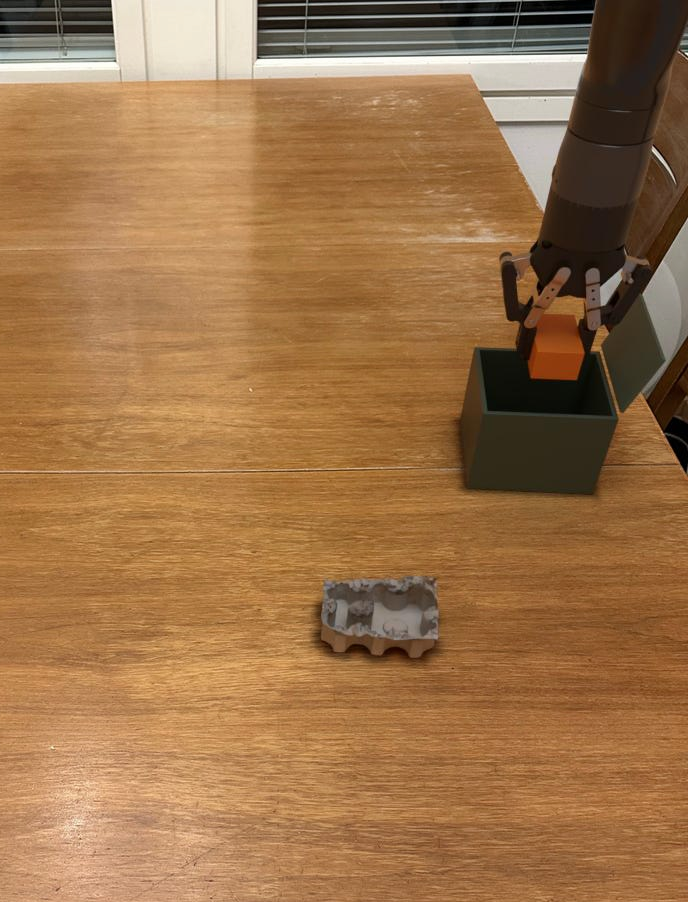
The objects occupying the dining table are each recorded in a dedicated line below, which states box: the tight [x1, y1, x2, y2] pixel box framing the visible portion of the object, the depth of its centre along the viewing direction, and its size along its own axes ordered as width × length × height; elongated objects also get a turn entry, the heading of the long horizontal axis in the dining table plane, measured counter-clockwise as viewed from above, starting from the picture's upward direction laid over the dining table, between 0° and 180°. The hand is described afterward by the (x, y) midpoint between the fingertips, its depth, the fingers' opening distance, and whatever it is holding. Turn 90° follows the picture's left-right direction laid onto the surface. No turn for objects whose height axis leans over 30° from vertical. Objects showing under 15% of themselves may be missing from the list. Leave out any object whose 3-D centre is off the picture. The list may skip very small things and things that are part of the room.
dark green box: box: [459, 346, 620, 495], centre depth 103 cm, size 13×12×10 cm
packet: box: [528, 313, 585, 380], centre depth 97 cm, size 4×7×3 cm, turn 174°
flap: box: [600, 293, 667, 414], centre depth 96 cm, size 6×12×1 cm
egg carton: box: [320, 575, 440, 659], centre depth 89 cm, size 11×8×4 cm
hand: (550, 356), depth 98 cm, fingers closed on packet, 4 cm apart
